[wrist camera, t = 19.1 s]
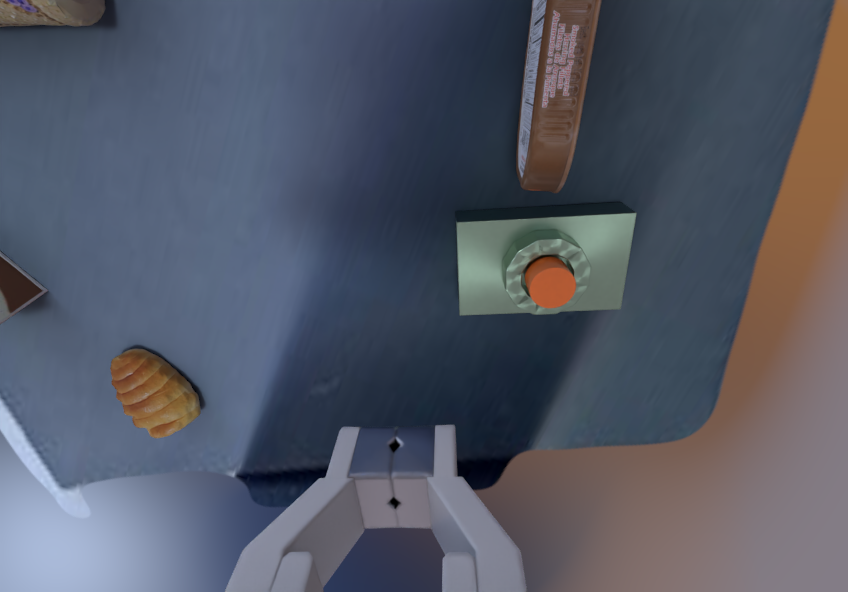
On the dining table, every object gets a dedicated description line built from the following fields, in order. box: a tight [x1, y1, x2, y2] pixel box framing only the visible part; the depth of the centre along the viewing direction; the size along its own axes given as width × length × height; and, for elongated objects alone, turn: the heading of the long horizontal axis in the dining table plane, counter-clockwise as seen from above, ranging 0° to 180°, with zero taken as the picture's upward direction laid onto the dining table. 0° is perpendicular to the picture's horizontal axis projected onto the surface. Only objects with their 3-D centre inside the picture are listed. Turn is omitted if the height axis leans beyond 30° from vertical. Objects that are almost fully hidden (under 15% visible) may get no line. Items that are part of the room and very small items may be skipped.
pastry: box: [110, 349, 200, 438], centre depth 42 cm, size 9×7×4 cm
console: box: [455, 202, 636, 315], centre depth 33 cm, size 8×13×5 cm, turn 94°
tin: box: [516, 0, 602, 193], centre depth 25 cm, size 15×3×8 cm, turn 179°
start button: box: [525, 257, 576, 308], centre depth 30 cm, size 3×3×2 cm
